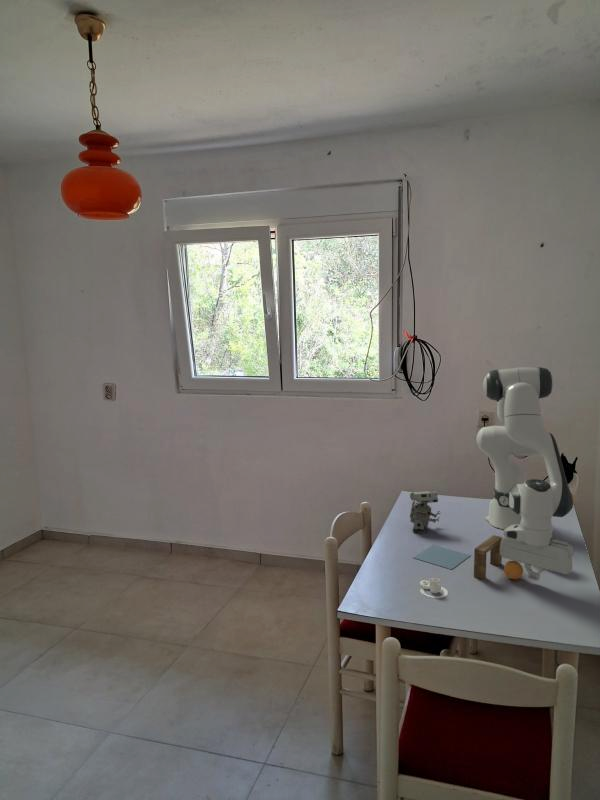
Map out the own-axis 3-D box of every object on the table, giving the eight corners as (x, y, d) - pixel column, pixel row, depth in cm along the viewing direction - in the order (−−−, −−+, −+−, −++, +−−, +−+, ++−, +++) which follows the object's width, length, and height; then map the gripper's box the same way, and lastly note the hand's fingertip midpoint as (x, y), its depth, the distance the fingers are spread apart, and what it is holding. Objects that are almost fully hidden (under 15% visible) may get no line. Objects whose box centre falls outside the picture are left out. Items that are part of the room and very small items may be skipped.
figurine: (439, 534, 202) (440, 496, 200) (408, 532, 205) (409, 494, 203) (440, 526, 210) (440, 489, 208) (410, 523, 214) (410, 487, 212)
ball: (529, 567, 165) (518, 578, 168) (513, 554, 167) (503, 565, 170) (524, 575, 161) (513, 586, 164) (509, 561, 163) (498, 572, 166)
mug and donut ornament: (416, 585, 163) (416, 573, 163) (442, 584, 164) (442, 572, 163) (424, 600, 155) (424, 586, 154) (451, 599, 155) (452, 585, 154)
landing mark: (433, 545, 192) (433, 544, 192) (470, 555, 183) (470, 555, 183) (413, 558, 182) (413, 557, 182) (451, 569, 173) (451, 569, 173)
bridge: (473, 576, 167) (474, 548, 166) (492, 561, 178) (493, 534, 177) (483, 579, 165) (483, 551, 164) (501, 564, 176) (502, 537, 175)
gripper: (576, 540, 156) (574, 585, 158) (506, 524, 169) (504, 565, 171) (570, 546, 151) (567, 593, 153) (498, 529, 165) (496, 572, 167)
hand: (533, 578), depth 162 cm, fingers closed
